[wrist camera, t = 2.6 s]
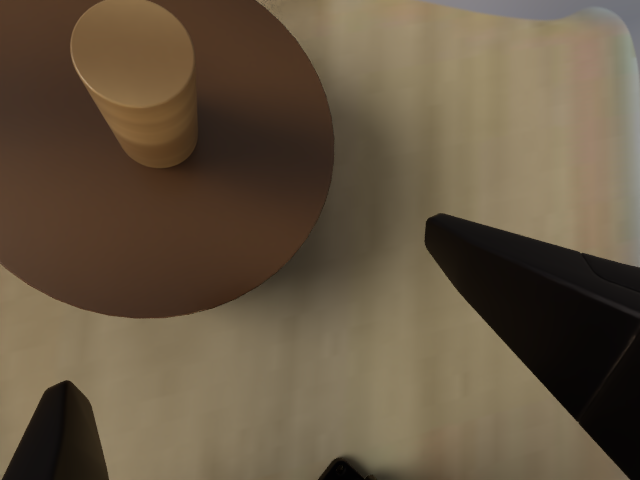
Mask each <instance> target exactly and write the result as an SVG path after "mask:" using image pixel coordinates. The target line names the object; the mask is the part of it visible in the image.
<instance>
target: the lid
mask: <svg viewBox="0 0 640 480" xmlns="http://www.w3.org/2000/svg"><path fill="white" fill-rule="evenodd" d="M333 164H334V133H333V125H332V117H331V113H330V110H329V106H328V102H327V98H326V95H325V92H324V90H323V87H322V84H321V82H320V79H319V77H318V75H317V73H316V71H315V69H314V67H313V65H312V64H311V62H310V60H309V58H308V56H307V55H306V53H305V52H304V51H303V49H302V48H301V46H300V45H299V43H298V42H297V40H296V39H295V38H294V37H293V36H292V34H291V33H290V32H289V31H288V30H287V29H286V28H285V26H284V25H283V24H282V23H281V22H280V21H279V20H278V19H277V18H276V17H275V16H273V15H272V14H271V13H270V12H269V11H268V10H267V9H266V8H265V7H264V6H262V5H261V4H259V3H258V2H257V1H255V0H0V263H1V264H2V265H3V266H4V267H5V268H6V269H7V270H9V271H10V272H11V273H13V274H14V275H16V276H17V277H18V278H20V279H21V280H23V281H24V282H25V283H27V284H28V285H30V286H31V287H33V288H35V289H37V290H39V291H41V292H43V293H45V294H46V295H48V296H50V297H52V298H54V299H56V300H59V301H62V302H64V303H67V304H70V305H72V306H75V307H78V308H80V309H84V310H88V311H92V312H96V313H100V314H105V315H109V316H118V317H127V318H168V317H175V316H182V315H189V314H193V313H197V312H200V311H204V310H208V309H212V308H215V307H217V306H220V305H222V304H225V303H227V302H229V301H232V300H234V299H237V298H239V297H240V296H242V295H244V294H246V293H247V292H249V291H251V290H253V289H254V288H256V287H258V286H259V285H261V284H262V283H263V282H265V281H266V280H267V279H269V278H270V277H271V276H273V275H274V274H275V273H277V272H278V271H279V270H280V269H281V268H282V267H283V266H284V265H285V264H286V263H287V262H288V261H289V260H290V259H291V258H292V257H293V256H294V254H295V253H296V252H297V251H298V249H299V248H300V247H301V245H302V244H303V243H304V242H305V240H306V239H307V237H308V236H309V234H310V232H311V231H312V229H313V227H314V225H315V224H316V222H317V220H318V218H319V216H320V213H321V211H322V208H323V206H324V204H325V201H326V198H327V194H328V191H329V187H330V183H331V179H332V171H333Z"/></svg>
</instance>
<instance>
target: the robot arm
mask: <svg viewBox="0 0 640 480" xmlns="http://www.w3.org/2000/svg"><path fill="white" fill-rule="evenodd" d="M425 246H426V248H427V250H428V251H429V253H430V254H431V255H432V257H433V258H434V260H435V261H436V262H437V264H438V265H439V266H440V268H441V269H442V270H443V272H444V273H445V274H446V276H447V277H448V279H449V280H450V281H451V283H452V284H453V285H454V287H455V288H456V289H457V290H458V292H459V293H460V294H461V295H462V296H463V297H464V299H465V300H466V301H467V302H468V303H469V304H470V305H471V306H472V307H473V308H474V309H475V311H476V312H477V313H478V314H479V315H480V316H481V317H482V318H483V319H484V320H485V321H486V323H487V324H488V325H489V326H490V327H491V328H492V329H493V330H494V331H495V332H496V333H497V335H498V336H499V337H500V338H501V339H502V340H503V341H504V342H505V343H506V344H507V345H508V347H509V348H510V349H511V350H512V351H513V352H514V353H515V354H516V355H517V356H518V358H519V359H520V360H521V361H522V362H523V363H524V364H525V365H526V366H527V367H528V368H529V370H530V371H531V372H532V373H533V374H534V375H535V376H536V377H537V378H538V379H539V380H540V382H541V383H542V384H543V385H544V386H545V387H546V388H547V389H548V390H549V391H550V392H551V394H552V395H553V396H554V397H555V398H556V399H557V400H558V401H559V402H560V403H561V404H562V406H563V407H564V408H565V409H566V410H567V411H568V412H569V413H570V414H571V415H572V416H573V418H574V419H575V420H576V421H577V422H579V424H580V426H581V427H582V428H583V429H584V430H585V431H586V432H587V433H588V434H589V435H590V436H591V438H592V439H593V440H594V441H595V442H596V443H597V444H598V445H599V446H600V447H601V448H602V450H603V451H604V452H605V453H606V454H607V455H608V456H609V457H610V458H611V459H612V460H613V462H614V463H615V464H616V465H617V466H618V467H619V468H620V469H621V470H622V471H623V472H624V474H625V475H626V476H627V477H628V478H629V479H630V480H640V268H639V267H635V266H631V265H626V264H622V263H618V262H615V261H611V260H607V259H603V258H599V257H596V256H592V255H589V254H585V253H580V252H578V251H574V250H571V249H567V248H564V247H560V246H557V245H553V244H550V243H546V242H543V241H539V240H535V239H532V238H528V237H525V236H521V235H518V234H514V233H511V232H507V231H504V230H500V229H497V228H493V227H489V226H486V225H482V224H479V223H475V222H472V221H468V220H465V219H461V218H458V217H454V216H451V215H447V214H443V213H439V214H437V215H434V216H432V217H430V218H428V219H427V221H426V228H425ZM339 465H343V468H342V470H341V471H339V472H337V471H336V469H337V467H338V466H339ZM2 480H109V477H108V472H107V467H106V463H105V459H104V455H103V450H102V446H101V442H100V438H99V434H98V430H97V426H96V422H95V418H94V414H93V410H92V406H91V404H90V402H89V400H88V399H87V398H86V397H85V395H84V394H83V393H82V392H81V391H80V390H79V389H78V388H77V387H76V386H75V385H74V384H73V383H72V382H71V381H68V380H66V381H63V382H60V383H58V384H56V385H54V386H52V387H49V388H48V389H47V390H46V391H45V392H44V394H43V396H42V398H41V400H40V402H39V404H38V406H37V408H36V410H35V412H34V414H33V416H32V418H31V420H30V423H29V425H28V427H27V429H26V431H25V433H24V435H23V437H22V439H21V441H20V443H19V445H18V447H17V449H16V451H15V453H14V456H13V458H12V460H11V462H10V464H9V466H8V468H7V470H6V472H5V474H4V476H3V478H2ZM318 480H377V479H376V478H375V477H374V476H373V475H367V476H366V478H363V477H362V476H361V475H360V474H359V473H358V472H357V471H356V470H355V469H354V468H353V467H352V466H351V465H349V464H348V463H347V462H346V461H345V460H344V459H342V458H336V459H334V460H333V461H332V462H331V464H330V465H329V466H328V467H327V469H326V470H325V471H324V473H323V474H322V475H321V476H320V478H319V479H318Z"/></svg>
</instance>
